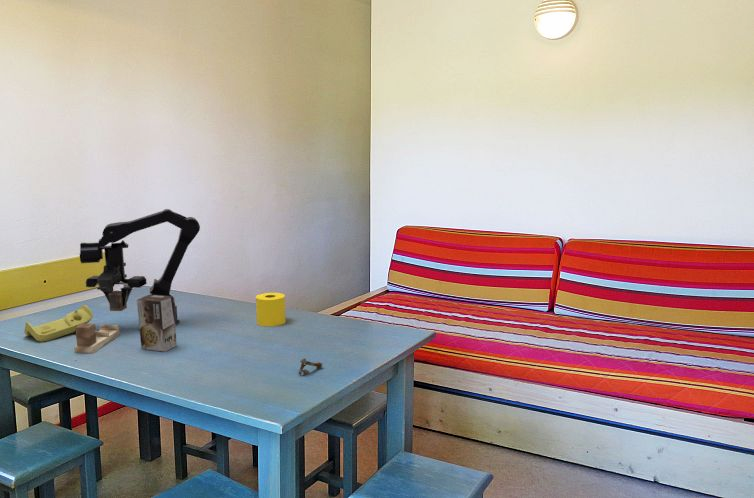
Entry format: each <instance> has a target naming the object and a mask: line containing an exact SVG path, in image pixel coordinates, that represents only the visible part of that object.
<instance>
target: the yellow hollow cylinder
mask: <svg viewBox="0 0 754 498" xmlns="http://www.w3.org/2000/svg"><path fill="white" fill-rule="evenodd" d="M285 297H286V295H285V294H284V293H280V292H265V293H260V294H258V295H256V296H255V305H256V306H255V311H256V324H257V325H258V326H262V327H277V326H281V325H284V324H285V323H286V298H285Z"/></svg>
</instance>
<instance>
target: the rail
mask: <svg viewBox="0 0 754 498" xmlns="http://www.w3.org/2000/svg"><path fill="white" fill-rule="evenodd" d="M119 327H120V326H119V325H118V324H113V325H111V324H100V325H99V330H98V331H96V323H87V324H81V325H79V326H77V327H75V340H76V345H74V346H73V349H74V353H79V354H80V353H82V354H87V353H88V354H94V353H95V352H98V350H100V349H101V348H103V347H105V346H106V345H108V344H109V343H110V342H112V341H114V340H115V339H116V338H118V337H119V336H121V335H120V328H119Z"/></svg>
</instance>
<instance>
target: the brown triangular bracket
mask: <svg viewBox="0 0 754 498" xmlns="http://www.w3.org/2000/svg"><path fill="white" fill-rule="evenodd" d="M299 363H301V364H300V367H299V370H298V376H299V375H300V376H302V374H306V375H307V374H309V373H310V371H309V370H308V369H305V367H306V366H307V365H308V366H311V367H315V368H316V369H319V370H322V368H323V364H324V363H323V362H320V361H317V362H313V361H312V362H311V361H309V360H307V358H303V359H300V362H299Z"/></svg>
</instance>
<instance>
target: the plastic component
mask: <svg viewBox="0 0 754 498" xmlns="http://www.w3.org/2000/svg"><path fill="white" fill-rule="evenodd" d="M93 315H94V313H93V310H92V309H90V307H89V306H87V305H86V304H83V305H81V306H80V307H79V308H78V309H77V310H76V309H75V310H74V311H72V312H68V313H66V315H65V317H62V318H60V319H57V320H53V321H49V322H46V323H43V324H40V325H36V326H33V325H32V324H31V323H30V322H29V321H28V322H25V325H24V330H23V331H24V334H25V335H26V336H27V337H31V336H32V337H33V338H34V339H35V340H36V341H37V342H39V343H40V342H42V343H43V342H47V341H51V340H54V339H58V338H60V337H63V336H67V335H69V334H72V333H75V332H76V329H75V327H77V326H79V325H81V324H89V323H90V322H91V320H92V318H93Z"/></svg>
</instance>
